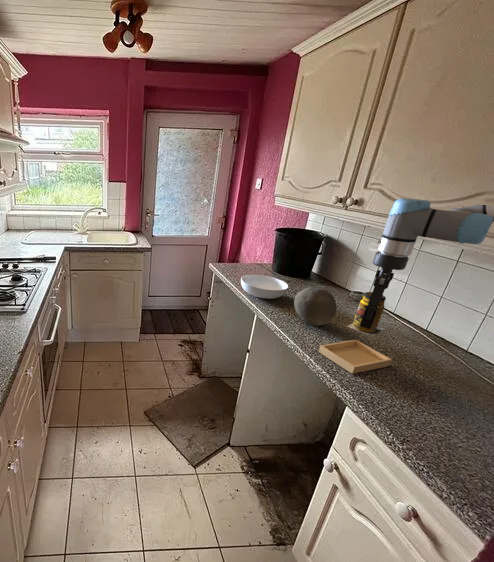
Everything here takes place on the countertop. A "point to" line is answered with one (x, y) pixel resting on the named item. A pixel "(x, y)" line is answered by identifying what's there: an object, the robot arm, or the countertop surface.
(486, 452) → the countertop surface
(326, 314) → the grey round rock
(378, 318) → the condiment
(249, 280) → the serving bowl
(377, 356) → the tray
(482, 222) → the robot arm
